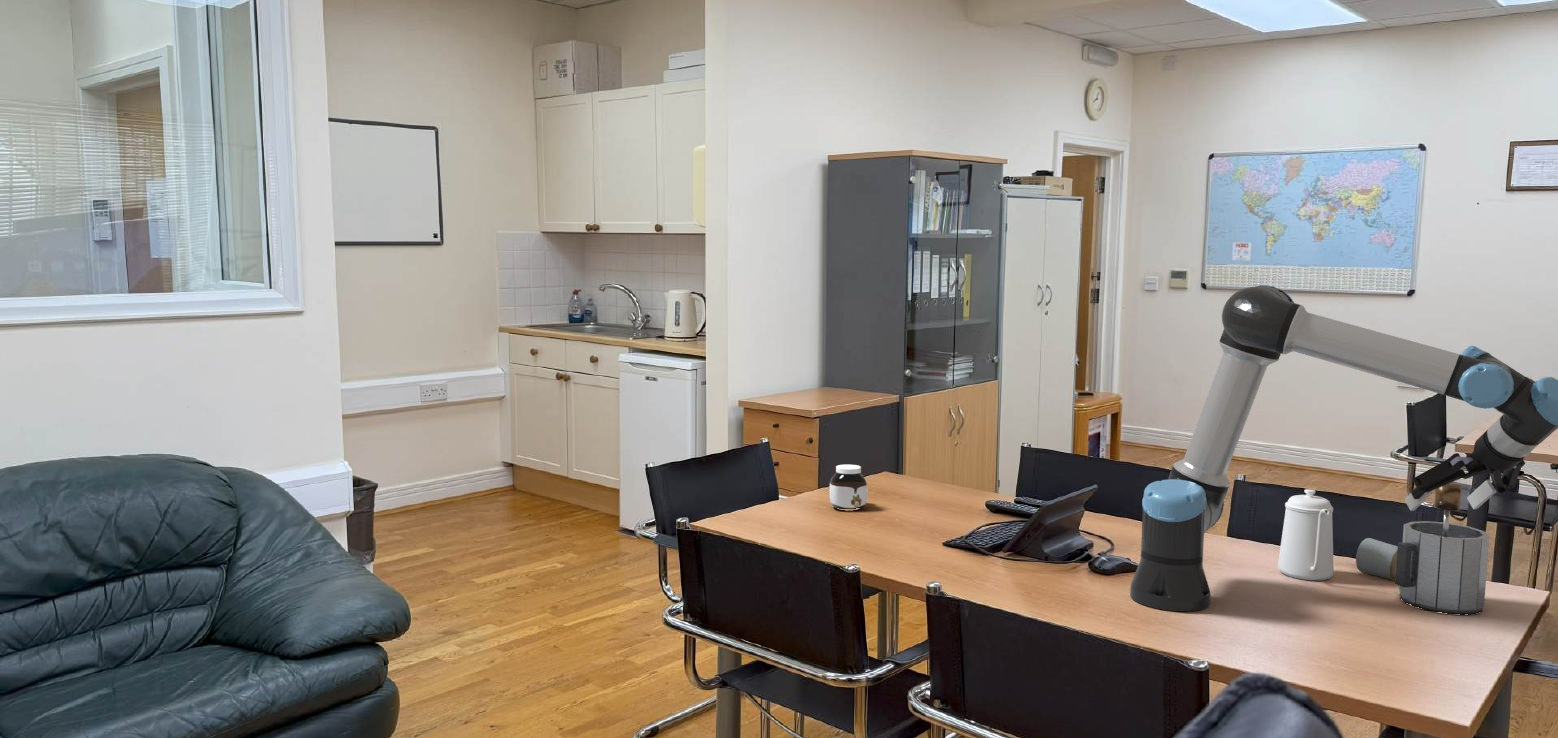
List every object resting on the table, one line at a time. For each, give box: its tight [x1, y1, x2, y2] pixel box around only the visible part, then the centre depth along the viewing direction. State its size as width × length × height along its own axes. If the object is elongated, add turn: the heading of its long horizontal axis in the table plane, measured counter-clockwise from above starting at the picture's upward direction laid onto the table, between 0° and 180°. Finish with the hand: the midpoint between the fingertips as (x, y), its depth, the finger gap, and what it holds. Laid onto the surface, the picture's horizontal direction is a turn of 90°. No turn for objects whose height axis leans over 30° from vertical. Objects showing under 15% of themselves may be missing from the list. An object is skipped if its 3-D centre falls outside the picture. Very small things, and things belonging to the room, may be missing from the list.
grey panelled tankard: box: [1394, 520, 1490, 616], centre depth 210 cm, size 16×14×15 cm
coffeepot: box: [1277, 489, 1335, 582], centre depth 228 cm, size 11×25×19 cm, turn 168°
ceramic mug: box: [1355, 537, 1398, 581], centre depth 229 cm, size 11×8×8 cm
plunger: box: [1433, 481, 1463, 537], centre depth 209 cm, size 10×10×15 cm
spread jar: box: [828, 464, 869, 509], centre depth 290 cm, size 12×11×12 cm
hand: (1440, 504), depth 210 cm, fingers open, 13 cm apart
